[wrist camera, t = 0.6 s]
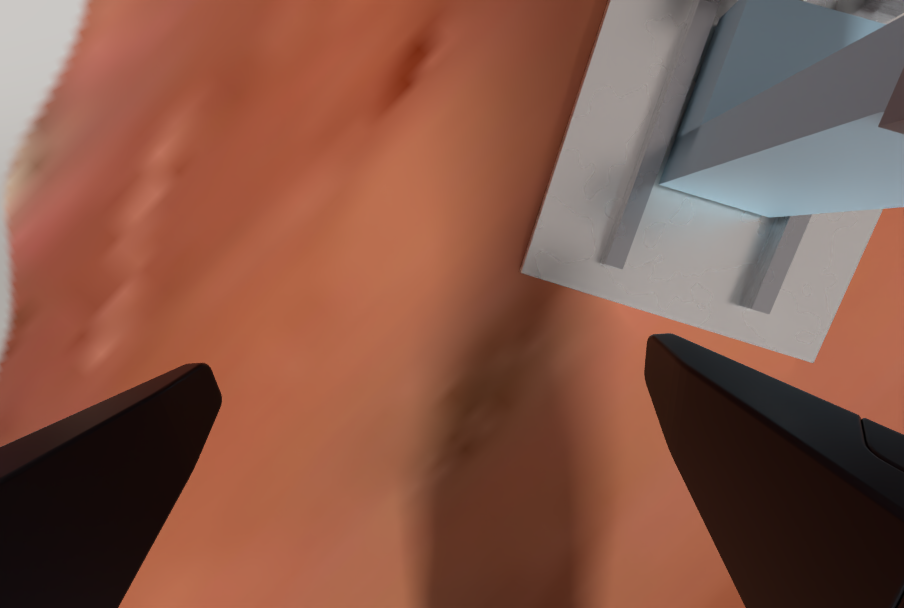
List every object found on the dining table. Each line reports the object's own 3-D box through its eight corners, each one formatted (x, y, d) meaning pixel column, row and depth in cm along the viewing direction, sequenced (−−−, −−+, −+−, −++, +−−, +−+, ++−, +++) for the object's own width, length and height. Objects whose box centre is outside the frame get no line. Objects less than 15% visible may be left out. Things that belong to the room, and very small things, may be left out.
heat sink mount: (795, 356, 22) (948, 414, 15) (519, 271, 22) (533, 286, 15) (1041, -197, 18) (1414, -493, 11) (701, -285, 19) (838, -623, 11)
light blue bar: (771, 230, 20) (1364, 211, 6) (647, 193, 20) (971, 99, 7) (844, 54, 19) (1765, -426, 5) (712, 17, 19) (1267, -538, 5)
